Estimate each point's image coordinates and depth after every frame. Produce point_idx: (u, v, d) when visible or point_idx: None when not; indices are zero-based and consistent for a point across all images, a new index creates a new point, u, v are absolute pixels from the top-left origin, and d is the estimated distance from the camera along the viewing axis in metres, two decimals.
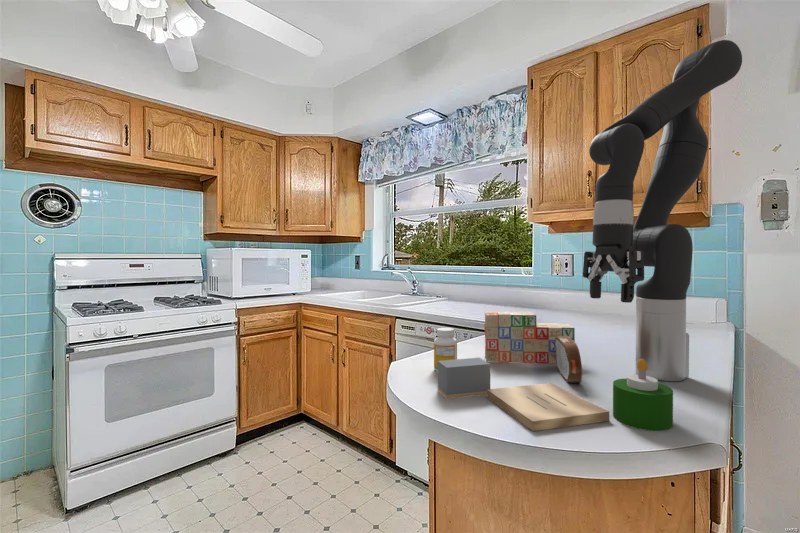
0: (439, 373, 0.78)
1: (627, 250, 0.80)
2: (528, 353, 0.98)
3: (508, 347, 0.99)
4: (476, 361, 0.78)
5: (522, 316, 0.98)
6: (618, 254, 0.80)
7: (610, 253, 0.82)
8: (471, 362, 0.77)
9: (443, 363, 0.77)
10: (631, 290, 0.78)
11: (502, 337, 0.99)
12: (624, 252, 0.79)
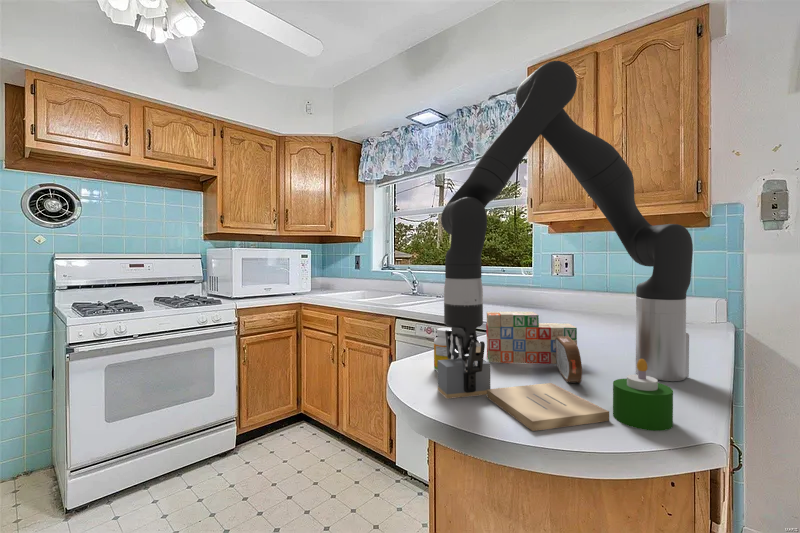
0: (439, 373, 0.78)
1: (473, 335, 0.74)
2: (530, 353, 0.98)
3: (510, 348, 0.98)
4: None
5: (524, 316, 0.98)
6: (464, 337, 0.74)
7: (459, 334, 0.76)
8: None
9: (443, 362, 0.77)
10: (472, 380, 0.74)
11: (505, 337, 0.99)
12: (468, 338, 0.73)
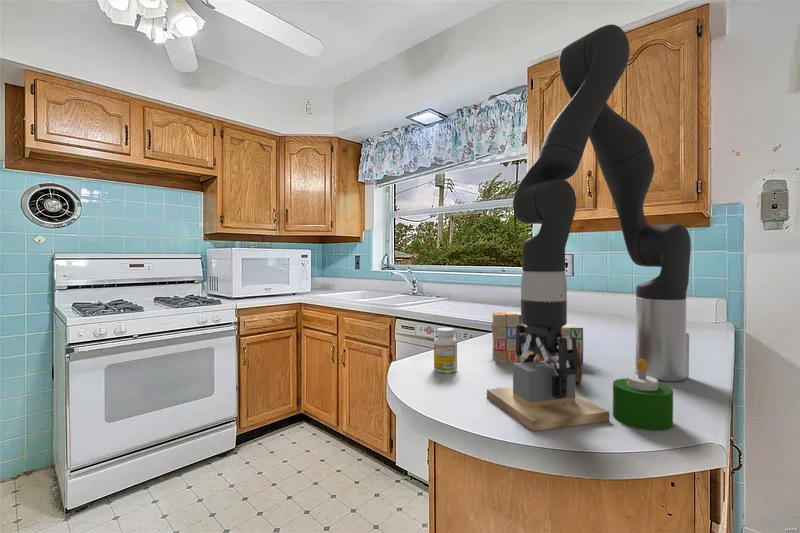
0: (515, 378, 0.69)
1: (558, 333, 0.65)
2: None
3: None
4: (557, 364, 0.69)
5: None
6: (548, 338, 0.65)
7: (540, 334, 0.67)
8: None
9: (521, 366, 0.68)
10: (563, 384, 0.64)
11: (510, 337, 0.99)
12: (554, 337, 0.64)
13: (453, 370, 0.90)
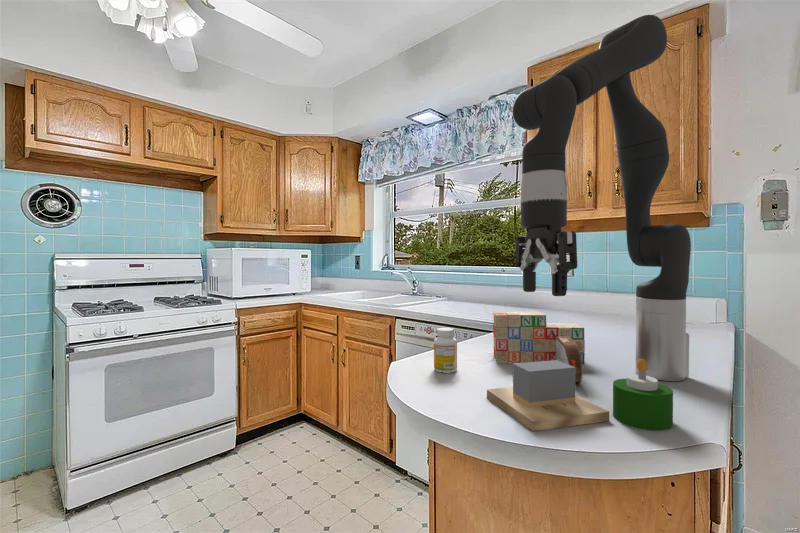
0: (515, 378, 0.69)
1: (558, 232, 0.65)
2: (538, 353, 0.98)
3: (518, 348, 0.98)
4: (557, 364, 0.69)
5: (532, 316, 0.98)
6: (548, 237, 0.65)
7: (540, 236, 0.67)
8: (552, 365, 0.69)
9: (521, 366, 0.68)
10: (563, 281, 0.63)
11: (512, 337, 0.98)
12: (554, 234, 0.64)
13: (453, 370, 0.90)
